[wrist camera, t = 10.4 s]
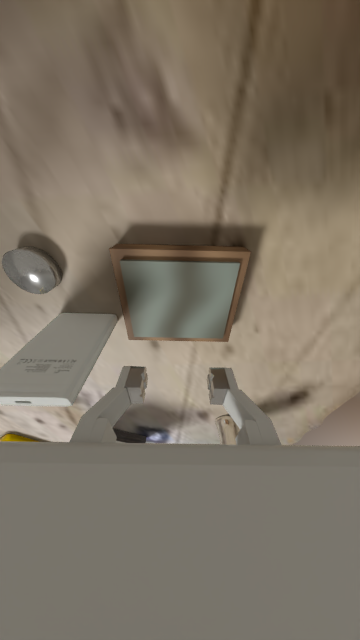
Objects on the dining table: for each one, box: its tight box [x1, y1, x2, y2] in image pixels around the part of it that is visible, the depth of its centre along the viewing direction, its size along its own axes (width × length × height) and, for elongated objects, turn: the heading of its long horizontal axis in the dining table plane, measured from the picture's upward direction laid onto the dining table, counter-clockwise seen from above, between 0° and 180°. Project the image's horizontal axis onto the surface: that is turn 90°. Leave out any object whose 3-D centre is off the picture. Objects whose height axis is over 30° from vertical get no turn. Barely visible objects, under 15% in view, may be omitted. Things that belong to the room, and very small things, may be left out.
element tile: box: [0, 434, 39, 442], centre depth 52 cm, size 15×15×5 cm
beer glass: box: [215, 415, 240, 445], centre depth 36 cm, size 7×7×15 cm
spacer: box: [2, 247, 62, 294], centre depth 19 cm, size 5×5×2 cm
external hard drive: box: [0, 313, 117, 406], centre depth 19 cm, size 2×8×12 cm, turn 88°
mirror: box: [109, 244, 251, 342], centre depth 20 cm, size 14×12×3 cm
